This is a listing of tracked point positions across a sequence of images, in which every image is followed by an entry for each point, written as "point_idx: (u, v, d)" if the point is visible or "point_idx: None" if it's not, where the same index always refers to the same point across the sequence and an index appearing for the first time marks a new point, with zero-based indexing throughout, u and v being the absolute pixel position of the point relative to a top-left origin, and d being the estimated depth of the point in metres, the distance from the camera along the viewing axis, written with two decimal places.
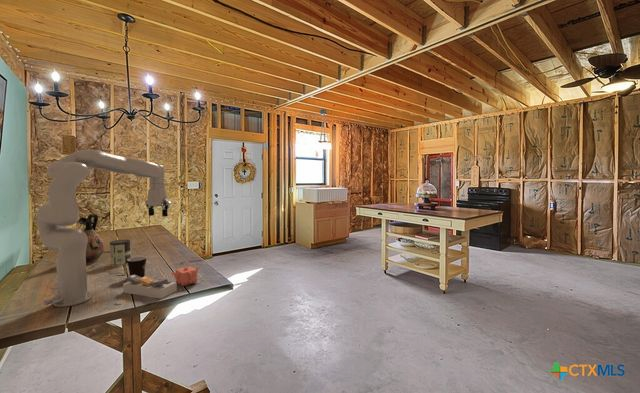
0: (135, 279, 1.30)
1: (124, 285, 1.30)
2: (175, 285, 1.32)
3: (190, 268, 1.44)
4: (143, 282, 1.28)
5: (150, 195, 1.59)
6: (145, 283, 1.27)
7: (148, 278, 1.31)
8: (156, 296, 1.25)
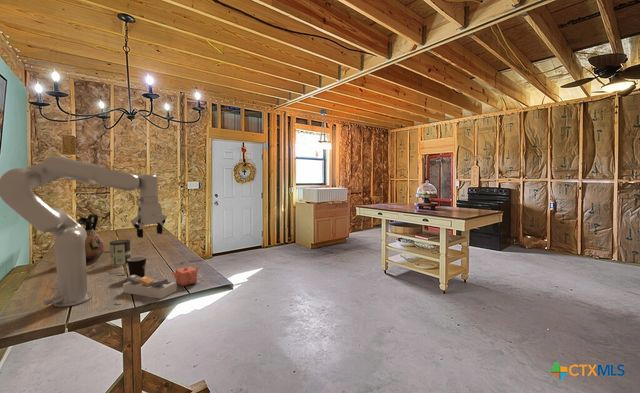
0: (135, 279, 1.30)
1: (124, 285, 1.30)
2: (175, 285, 1.32)
3: (190, 268, 1.44)
4: (143, 282, 1.28)
5: (148, 212, 1.32)
6: (145, 283, 1.27)
7: (148, 278, 1.31)
8: (156, 296, 1.25)
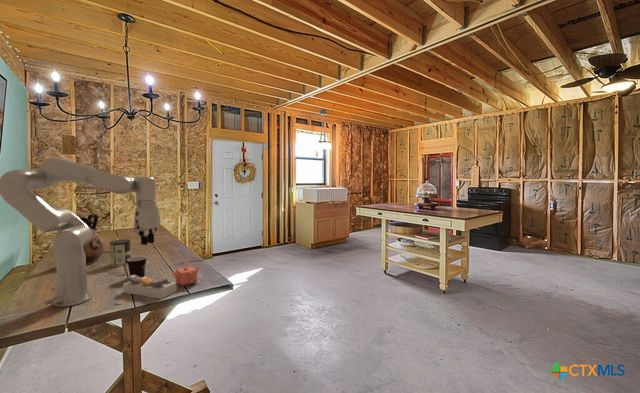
0: (135, 279, 1.30)
1: (124, 285, 1.30)
2: (175, 285, 1.32)
3: (190, 268, 1.44)
4: (143, 282, 1.28)
5: (147, 216, 1.26)
6: (145, 283, 1.27)
7: (148, 278, 1.31)
8: (156, 296, 1.25)
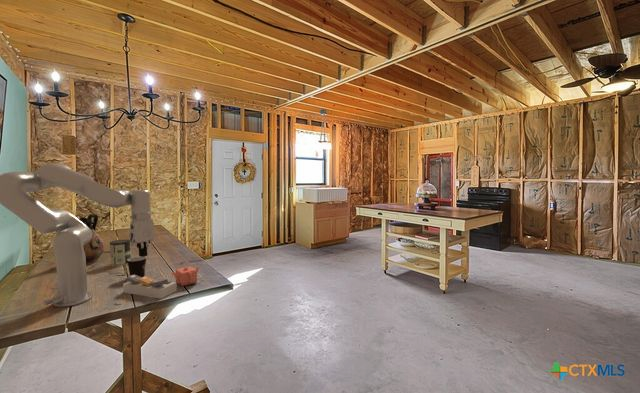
0: (135, 279, 1.30)
1: (124, 285, 1.30)
2: (175, 285, 1.32)
3: (190, 268, 1.44)
4: (143, 282, 1.28)
5: (142, 229, 1.26)
6: (145, 283, 1.27)
7: (148, 278, 1.31)
8: (156, 296, 1.25)
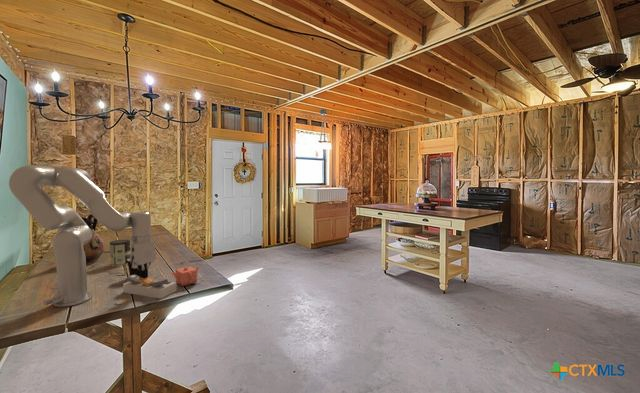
0: (135, 279, 1.30)
1: (124, 285, 1.30)
2: (175, 285, 1.32)
3: (190, 268, 1.44)
4: (143, 282, 1.28)
5: (143, 251, 1.26)
6: (145, 283, 1.27)
7: (148, 278, 1.31)
8: (156, 296, 1.25)
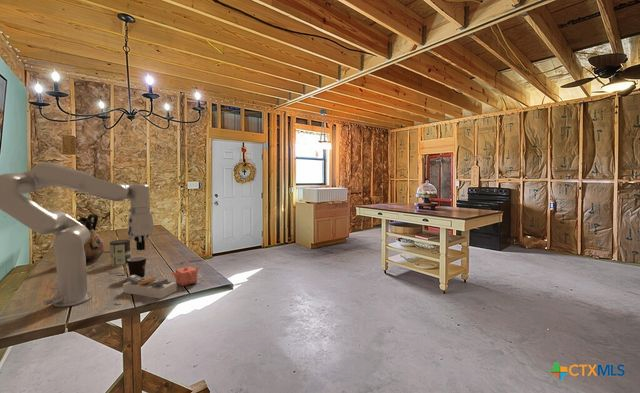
0: (135, 279, 1.30)
1: (124, 285, 1.30)
2: (175, 285, 1.32)
3: (190, 268, 1.44)
4: (143, 282, 1.28)
5: (140, 223, 1.27)
6: (145, 281, 1.27)
7: None
8: (156, 296, 1.25)
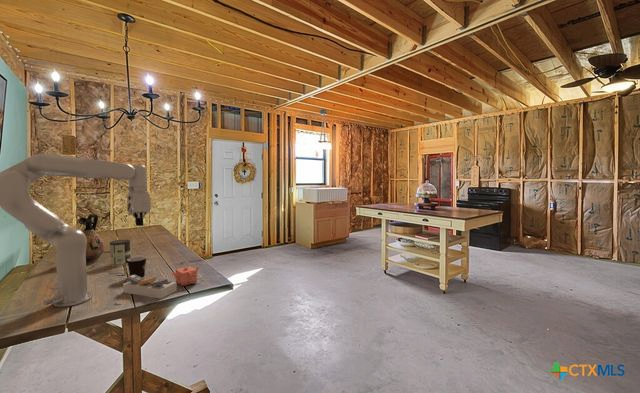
0: (135, 279, 1.30)
1: (124, 285, 1.30)
2: (175, 285, 1.32)
3: (190, 268, 1.44)
4: (143, 282, 1.28)
5: (138, 200, 1.38)
6: (145, 281, 1.27)
7: None
8: (156, 296, 1.25)
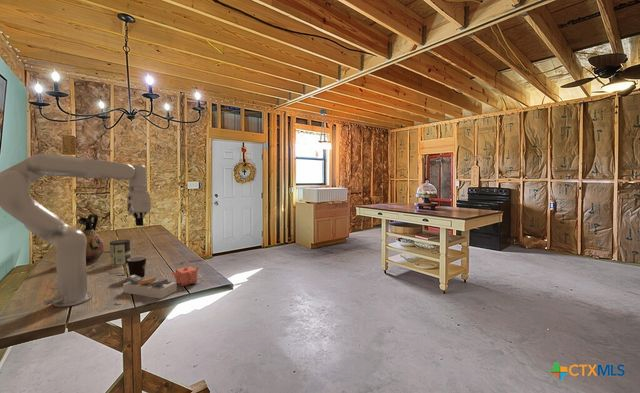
0: (135, 279, 1.30)
1: (124, 285, 1.30)
2: (175, 285, 1.32)
3: (190, 268, 1.44)
4: (143, 282, 1.28)
5: (138, 200, 1.38)
6: (145, 282, 1.27)
7: None
8: (156, 296, 1.25)
